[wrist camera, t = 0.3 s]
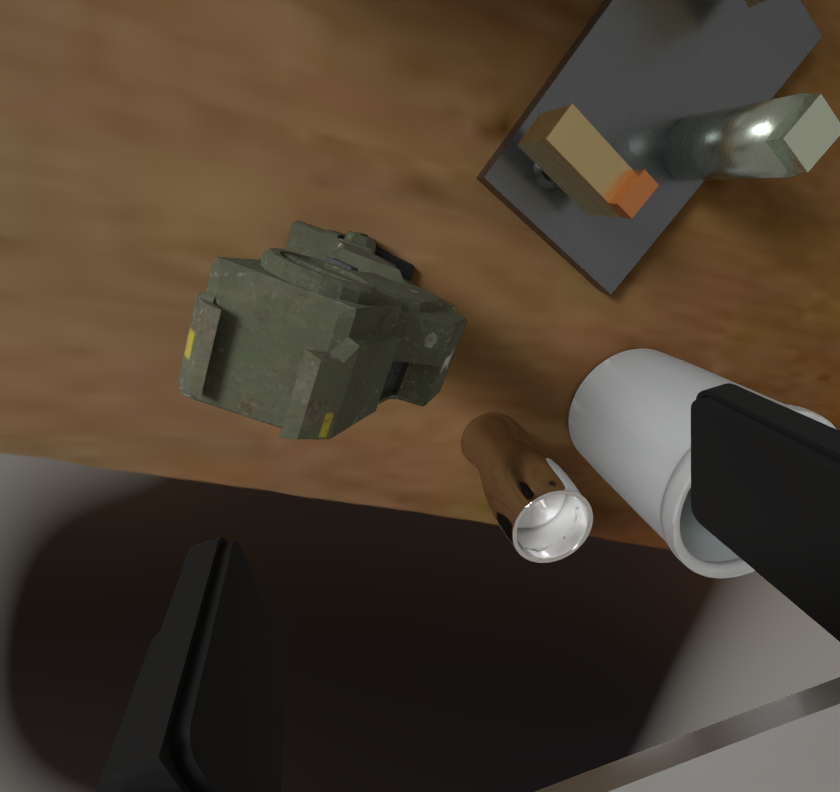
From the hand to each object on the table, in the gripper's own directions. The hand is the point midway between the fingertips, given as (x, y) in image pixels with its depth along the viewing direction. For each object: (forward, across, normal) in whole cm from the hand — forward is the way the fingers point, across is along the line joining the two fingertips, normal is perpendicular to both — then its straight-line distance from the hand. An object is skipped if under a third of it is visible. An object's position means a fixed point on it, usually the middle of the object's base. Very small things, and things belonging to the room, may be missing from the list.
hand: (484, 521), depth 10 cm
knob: (+33, -18, -4) cm, 38 cm away
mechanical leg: (+36, +1, -1) cm, 36 cm away
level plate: (+36, -27, -7) cm, 45 cm away
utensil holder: (+36, -24, +21) cm, 49 cm away
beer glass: (+36, -9, +20) cm, 42 cm away
